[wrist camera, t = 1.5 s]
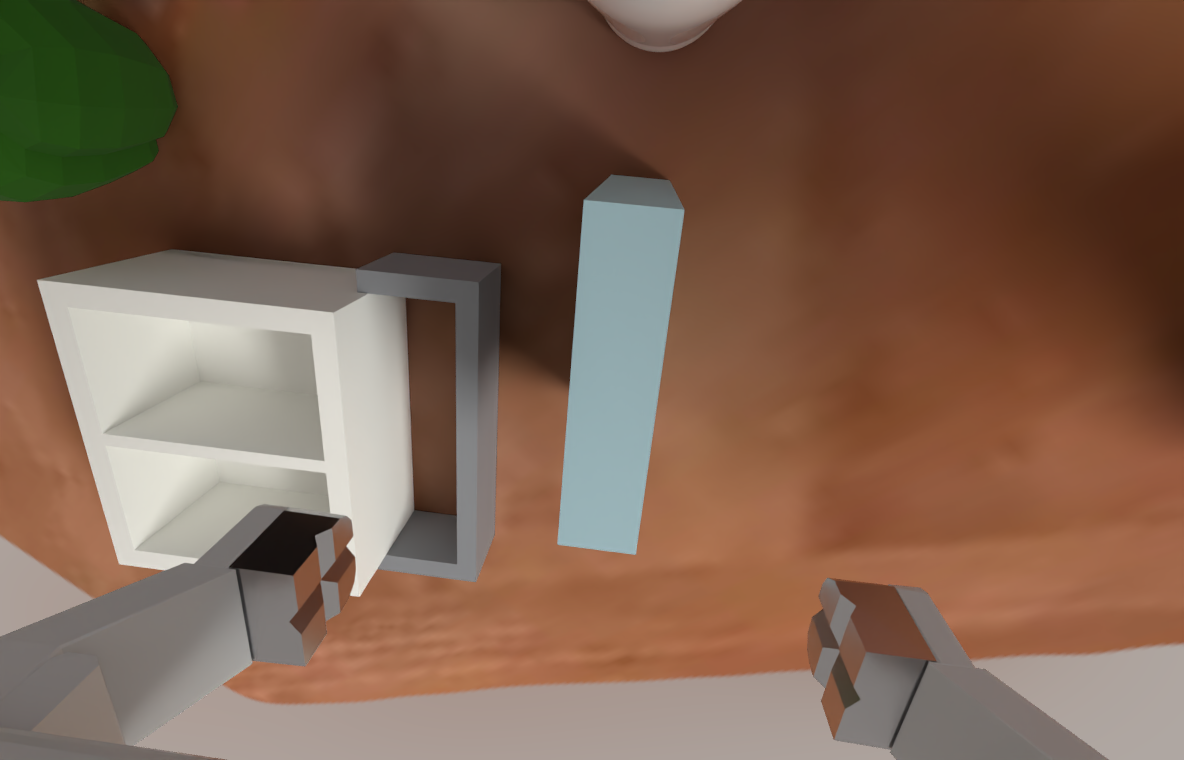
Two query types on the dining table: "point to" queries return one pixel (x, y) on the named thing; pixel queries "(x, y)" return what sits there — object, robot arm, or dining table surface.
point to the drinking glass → (661, 20)
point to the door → (617, 358)
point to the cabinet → (275, 401)
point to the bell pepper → (74, 100)
